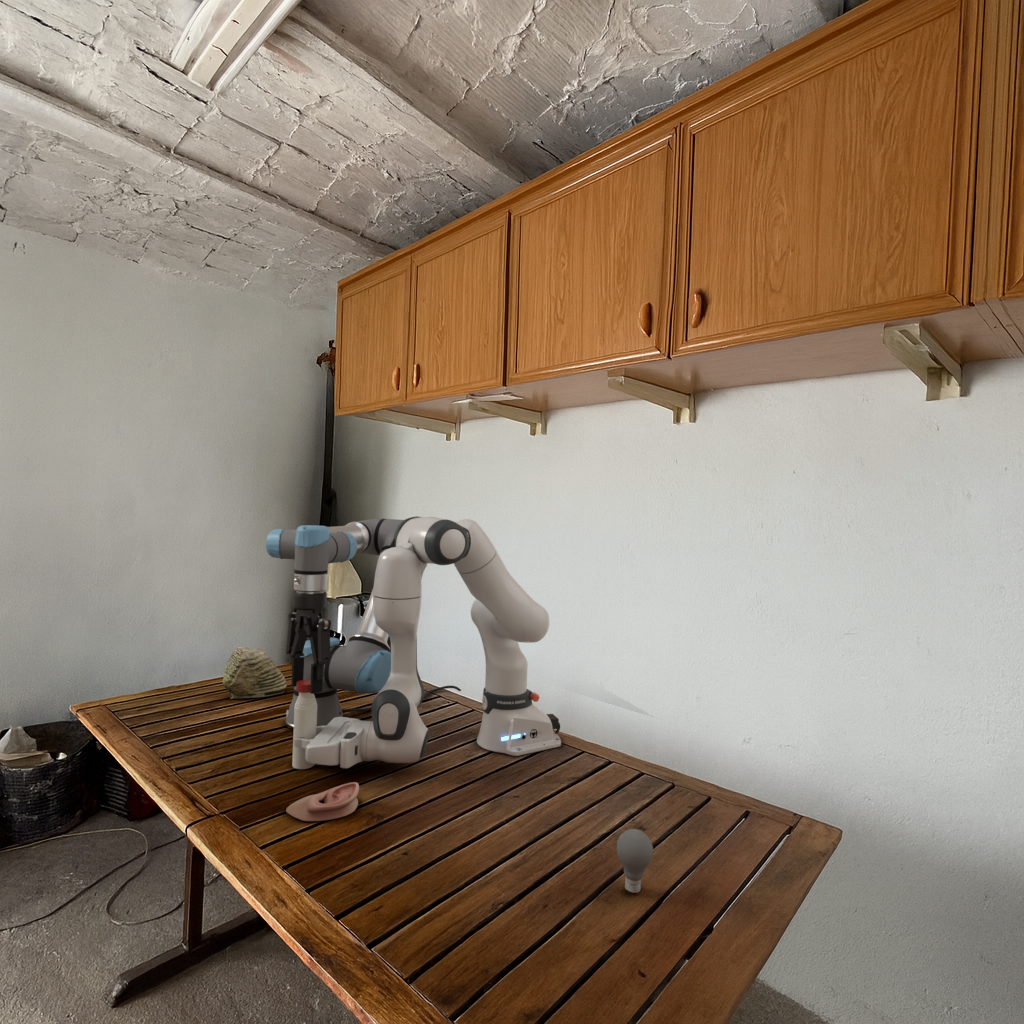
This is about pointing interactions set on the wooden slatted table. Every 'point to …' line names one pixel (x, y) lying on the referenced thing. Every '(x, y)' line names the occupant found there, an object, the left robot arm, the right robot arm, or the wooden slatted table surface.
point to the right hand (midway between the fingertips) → (300, 736)
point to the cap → (303, 686)
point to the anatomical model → (326, 804)
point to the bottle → (304, 727)
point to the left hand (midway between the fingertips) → (306, 688)
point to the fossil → (252, 674)
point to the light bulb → (634, 857)
